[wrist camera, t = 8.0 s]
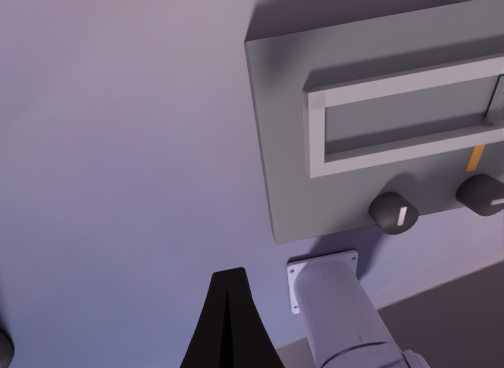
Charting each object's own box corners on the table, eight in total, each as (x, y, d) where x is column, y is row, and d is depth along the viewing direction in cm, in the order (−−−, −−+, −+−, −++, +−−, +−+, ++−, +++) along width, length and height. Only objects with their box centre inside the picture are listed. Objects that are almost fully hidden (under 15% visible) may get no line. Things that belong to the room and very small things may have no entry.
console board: (504, 183, 23) (554, 207, 20) (271, 229, 23) (281, 262, 19) (605, -24, 15) (722, -46, 12) (244, 42, 15) (251, 40, 11)
